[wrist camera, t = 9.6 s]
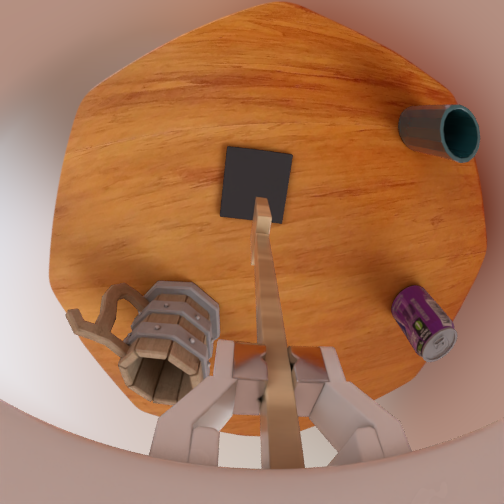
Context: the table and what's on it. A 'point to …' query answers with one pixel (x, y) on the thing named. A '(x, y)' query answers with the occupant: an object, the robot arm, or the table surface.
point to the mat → (254, 182)
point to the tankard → (158, 337)
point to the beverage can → (424, 323)
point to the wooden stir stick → (273, 355)
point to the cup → (440, 131)
